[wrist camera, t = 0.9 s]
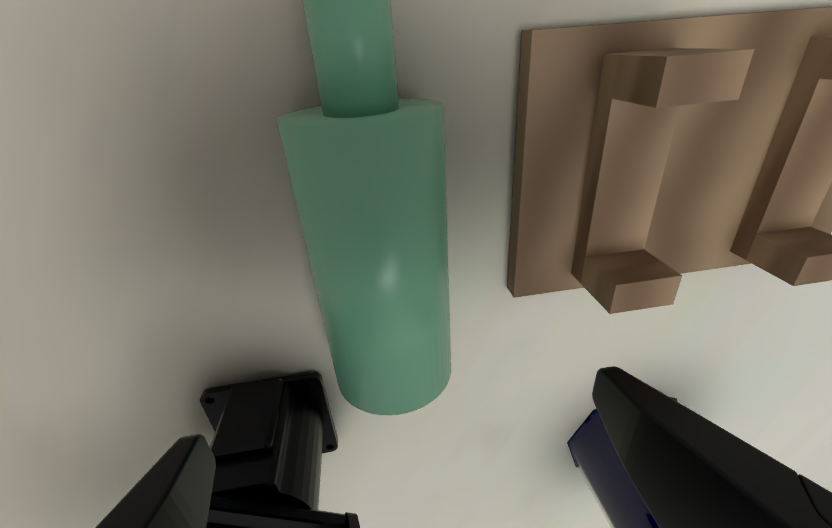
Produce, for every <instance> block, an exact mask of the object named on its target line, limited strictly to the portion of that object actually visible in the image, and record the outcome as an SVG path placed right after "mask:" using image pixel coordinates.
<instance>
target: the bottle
mask: <svg viewBox="0 0 832 528" xmlns="http://www.w3.org/2000/svg"><path fill="white" fill-rule="evenodd" d="M671 399H673V400H675V401H676V402H677V399H675V398H671ZM567 443H568V446H569V449H570V452H571V455H572V457H573V460H574V463H575V466H576V467H578V468H579V470H580V472H581V473H582V475H583V477H584V479H585V481H586V483H587V484H588V486H589V488H590V490H591V492H592V494H593V496H594V497H595V499H596V501H597V503H598V505H599V507H600V508H601V510H602V512H603V514H604V516H605V518H606V519H607V521H608V523H609V525H610V527H611V528H659V526H658V524H657V523H656V521H655V519H654V517H653V516H652V514H651V512H650V511H649V509H648V507H647V506H646V504H645V502H644V500H643V499H642V497H641V495H640V494H639V492H638V490H637V488H636V487H635V485H634V483H633V482H632V480H631V478H630V476H629V475H628V473H627V471H626V469H625V467H624V466H623V464H622V462H621V460H620V458H619V456H618V454H617V451H616V449H615V447H614V445H613V443H612V441H611V438H610V436H609V434H608V432H607V430H606V428H605V425H604V423H603V421H602V419H601V417H600V415H599V412H598V410H597V409H596V410H593V412H592V413H591V414H590V415H589V416H588V418H587V419H586V420H585V421H584V423H583V424H582V425H581V426H580V428H579V429H578V430H577V431H576V433H575V434H574V435H573V436H572V438H571V439H570V440H569V441H568V442H567Z"/></svg>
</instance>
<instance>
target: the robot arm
mask: <svg viewBox="0 0 832 528" xmlns="http://www.w3.org/2000/svg"><path fill="white" fill-rule="evenodd" d="M310 381H315V382H310ZM210 397H212V398H210ZM592 397H593V401H594V404H595V406H596V408H597V410H598V412H599V415H600V417H601V419H602V421H603V423H604V425H605V428H606V430H607V432H608V434H609V436H610V438H611V441H612V443H613V445H614V447H615V449H616V451H617V454H618V456H619V458H620V460H621V462H622V464H623V466H624V467H625V469H626V471H627V473H628V475H629V476H630V478H631V480H632V482H633V483H634V485H635V487H636V488H637V490H638V492H639V494H640V495H641V497H642V499H643V500H644V502H645V504H646V506H647V507H648V509H649V511H650V512H651V514H652V516H653V517H654V519H655V521H656V523H657V524H658V526H659V528H832V492H830V491H828V490H827V489H825V488H823V487H821V486H820V485H818V484H816V483H815V482H813V481H811V480H809V479H808V478H806V477H804V476H803V475H798V474H797V473H796V472H795V471H794V470H792V469H790V468H789V467H787V466H785V465H784V464H782V463H780V462H779V461H777V460H775V459H773V458H772V457H770V456H768V455H767V454H765V453H763V452H762V451H760V450H758V449H756V448H755V447H753V446H751V445H750V444H748V443H746V442H745V441H743V440H741V439H739V438H738V437H736V436H734V435H733V434H731V433H729V432H728V431H726V430H724V429H722V428H721V427H719V426H717V425H716V424H714V423H712V422H711V421H709V420H707V419H705V418H704V417H702V416H700V415H699V414H697V413H695V412H693V411H692V410H690V409H688V408H687V407H685V406H683V405H682V404H680V403H678V402H676V401H675V400H673V399H671V398H670V397H668V396H666V395H665V394H663V393H661V392H659V391H658V390H656V389H654V388H653V387H651V386H649V385H648V384H646V383H644V382H642V381H641V380H639V379H637V378H636V377H634V376H632V375H631V374H629V373H627V372H625V371H624V370H622V369H620V368H618V367H614V366H613V367H606V368H601V369H599V370H598V371H597V374H596V378H595V383H594V387H593V392H592ZM200 402H201V404H202V406H203V408H204V410H205V413H206V415H207V417H208V419H209V421H210V423H211V425H212V427H213V429H214V431H215V435H214V437H213V440H212V443H211V446H210V447H209V445H208V443H207V441H206V439H205V438H204V436H203V435H201V434H196V435H190V436H185V437H182V438H180V439H179V440H177V441H176V442H175V443H174V445H173V446H172V447H171V448H170V449H169V450H168V451H167V452H166V453H165V454H164V455H163V456H162V457H161V458H160V459H159V460H158V462H157V463H156V464H155V465H154V466H153V467H152V468H151V469H150V470H149V471H148V472H147V473H146V474H145V475H144V476H143V478H142V479H141V480H140V481H139V482H138V483H137V484H136V485H135V486H134V487H133V488H132V489H131V490H130V491H129V492H128V493H127V495H126V496H125V497H124V498H123V499H122V500H121V501H120V502H119V503H118V504H117V505H116V506H115V507H114V508H113V509H112V510H111V512H110V513H109V514H108V515H107V516H106V517H105V518H104V519H103V520H102V521H101V522H100V523H99V524H98V525H97V526H96V528H360V525H359V521H358V516H357V514H354V513H347V512H346V513H345V514H339V513H333V512H326V511H319V510H318V503H319V488H320V474H321V459H322V453H327V452H332V451H334V450H336V449H337V447H338V439H337V435H336V431H335V427H334V423H333V419H332V415H331V412H330V408H329V404H328V400H327V396H326V392H325V388H324V385H323V381H322V377H321V375H319V374H318V373H305V374H299V375H292V376H286V377H279V378H273V379H266V380H260V381H253V382H247V383H240V384H234V385H228V386H221V387H215V388H209V389H206V390H204V391H203V393H202V395H201V398H200Z"/></svg>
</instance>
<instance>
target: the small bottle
mask: <svg viewBox="0 0 832 528" xmlns="http://www.w3.org/2000/svg"><path fill="white" fill-rule="evenodd" d="M303 5H304V10H305V16H306V22H307V27H308V33H309V39H310V44H311V50H312V56H313V62H314V67H315V73H316V79H317V84H318V90H319V96H320V101H321V106H316V107H310V108H306V109H301V110H297V111H294V112H290V113H288V114H285V115H283V116H281V117H279V118H278V119H277V124H278V129H279V133H280V137H281V141H282V146H283V150H284V154H285V159H286V163H287V167H288V171H289V176H290V180H291V184H292V189H293V193H294V197H295V202H296V206H297V210H298V214H299V219H300V223H301V227H302V232H303V236H304V240H305V244H306V249H307V253H308V257H309V262H310V266H311V270H312V275H313V279H314V283H315V287H316V292H317V296H318V300H319V305H320V309H321V313H322V317H323V322H324V326H325V330H326V335H327V339H328V343H329V348H330V352H331V356H332V360H333V365H334V369H335V373H336V378H337V382H338V386H339V389H340V391H341V393H342V395H343V396H344V397H345V399H346V400H347V401H348V402H349V403H351V404H352V405H353V406H355V407H357V408H358V409H360V410H363V411H365V412H369V413H372V414H378V415H398V414H404V413H408V412H411V411H415V410H417V409H419V408H422V407H423V406H425V405H427V404H429V403H430V402H432V401H433V400H434V399H435V398H437V397H438V396H439V395H440V394H441V392H442V391H443V390H444V389H445V387H446V385H447V383H448V381H449V378H450V374H451V345H450V312H449V279H448V246H447V213H446V179H445V146H444V113H443V104H442V103H440V102H437V101H433V100H425V99H398V88H397V76H396V64H395V52H394V40H393V28H392V16H391V4H390V0H303Z"/></svg>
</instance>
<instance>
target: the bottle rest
mask: <svg viewBox="0 0 832 528" xmlns="http://www.w3.org/2000/svg"><path fill="white" fill-rule="evenodd" d="M831 232H832V7H824V8H811V9H798V10H786V11H773V12H760V13H747V14H734V15H721V16H708V17H695V18H682V19H669V20H656V21H643V22H630V23H617V24H604V25H591V26H578V27H565V28H552V29H539V30H526V31H522V41H521V58H520V75H519V92H518V109H517V126H516V143H515V160H514V177H513V194H512V211H511V228H510V245H509V262H508V280H507V288H508V290H509V291H510V293H511V294H512V296H513V297H521V296H528V295H535V294H542V293H549V292H556V291H563V290H570V289H577V288H585V289H586V290H587V291H588V292H589V293H590V294H591V295H592V296H593V297H594V298H595V299H596V300H597V301H598V302H599V303H600V304H601V305H602V306H603V307H604V308H605V309H606V310H607V312H608V313H609V314H612V313H619V312H625V311H632V310H639V309H645V308H652V307H658V306H665V305H672V304H673V303H674V300H675V296H676V293H677V290H678V287H679V284H680V281H681V278H682V275H680V274H681V273H688V272H695V271H702V270H709V269H716V268H723V267H730V266H736V265H743V264H750V263H752V264H754V265H756V266H758V267H759V268H761V269H763V270H765V271H767V272H769V273H770V274H772V275H774V276H776V277H778V278H780V279H782V280H783V281H785V282H787V283H789V284H791V285H793V286H797V285H803V284H810V283H817V282H823V281H830V280H832V235H831Z"/></svg>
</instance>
